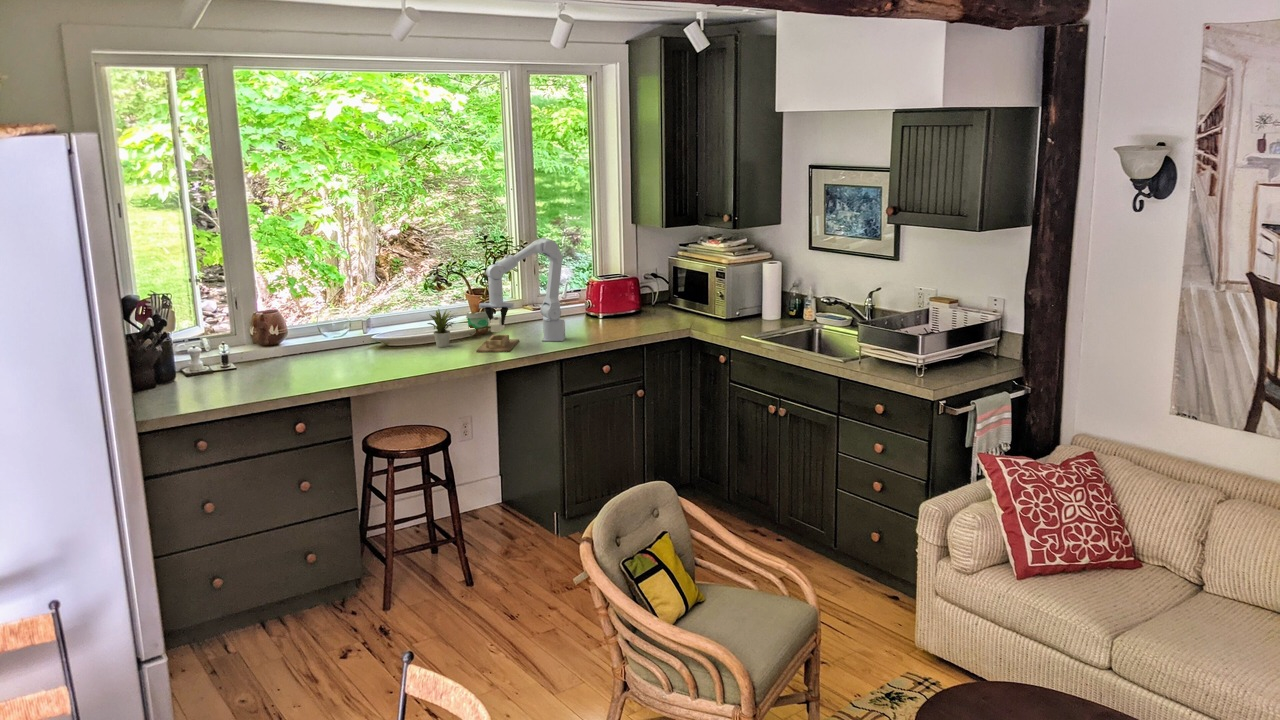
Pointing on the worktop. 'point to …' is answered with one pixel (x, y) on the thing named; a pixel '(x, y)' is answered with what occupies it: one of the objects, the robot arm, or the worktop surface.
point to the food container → (478, 322)
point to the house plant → (442, 328)
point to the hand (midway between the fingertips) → (497, 324)
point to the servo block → (496, 324)
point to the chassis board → (498, 344)
